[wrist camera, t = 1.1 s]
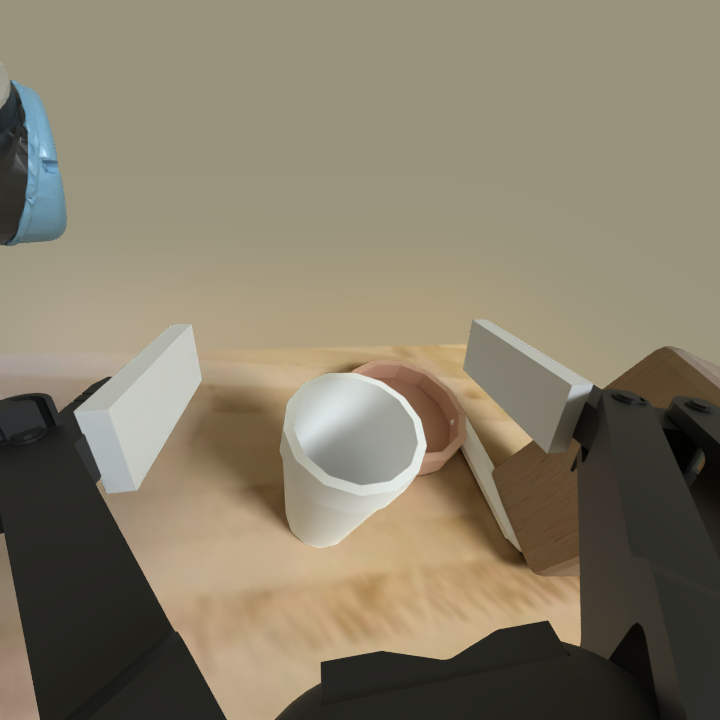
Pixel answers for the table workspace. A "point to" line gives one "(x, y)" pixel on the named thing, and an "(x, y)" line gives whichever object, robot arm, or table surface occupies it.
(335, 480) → the foam cup
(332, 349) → the table surface
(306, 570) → the table surface
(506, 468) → the wooden block
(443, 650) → the table surface
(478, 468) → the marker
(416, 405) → the bowl
